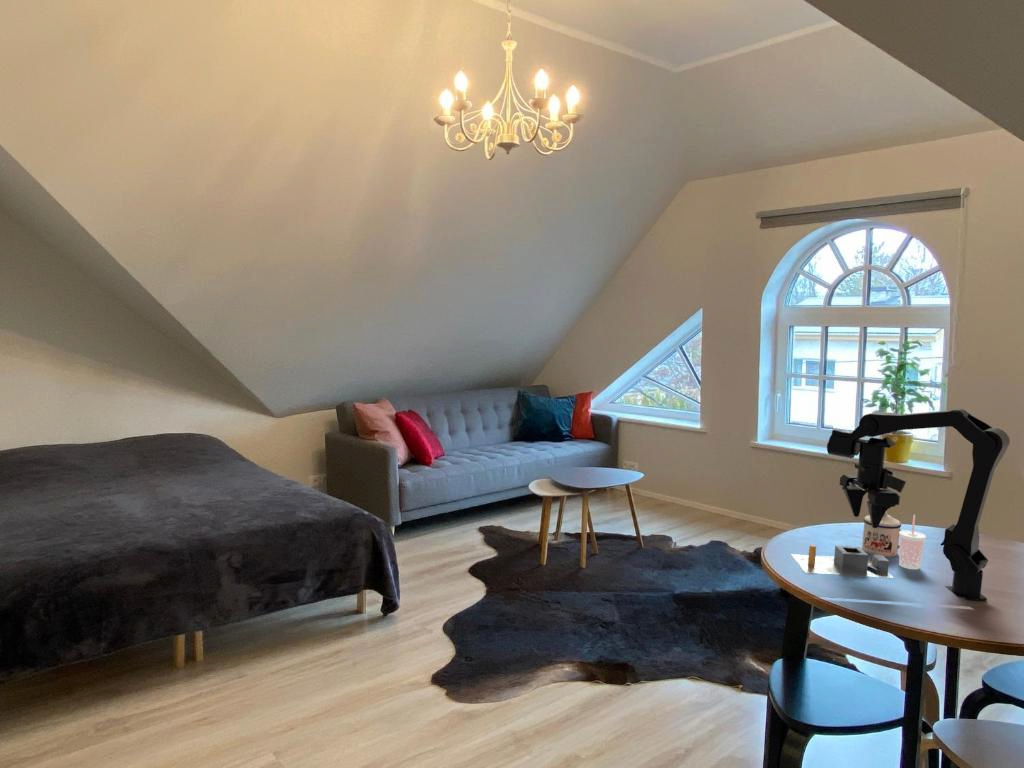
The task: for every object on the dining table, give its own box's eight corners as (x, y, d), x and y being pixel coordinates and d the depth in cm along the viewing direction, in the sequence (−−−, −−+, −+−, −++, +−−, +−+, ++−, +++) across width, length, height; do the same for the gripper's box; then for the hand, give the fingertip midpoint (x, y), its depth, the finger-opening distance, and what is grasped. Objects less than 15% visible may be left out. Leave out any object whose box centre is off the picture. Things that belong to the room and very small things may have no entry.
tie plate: (893, 580, 182) (895, 566, 181) (805, 574, 184) (806, 560, 183) (873, 561, 194) (874, 547, 194) (790, 556, 196) (791, 543, 196)
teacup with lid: (857, 553, 200) (861, 511, 199) (864, 544, 208) (868, 504, 206) (907, 564, 193) (911, 520, 192) (913, 554, 201) (917, 512, 199)
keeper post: (815, 566, 188) (817, 547, 187) (808, 566, 188) (810, 547, 187) (813, 564, 189) (815, 545, 189) (807, 563, 189) (808, 544, 189)
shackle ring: (866, 572, 185) (868, 555, 184) (841, 571, 185) (843, 553, 184) (858, 563, 190) (859, 547, 190) (833, 562, 191) (835, 545, 190)
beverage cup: (926, 573, 187) (931, 519, 185) (899, 571, 188) (905, 517, 186) (918, 565, 193) (923, 512, 191) (892, 562, 194) (897, 510, 192)
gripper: (924, 471, 178) (917, 534, 180) (882, 454, 197) (876, 511, 199) (879, 470, 178) (872, 534, 180) (841, 453, 196) (836, 510, 198)
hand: (865, 522), depth 189 cm, fingers open, 9 cm apart
